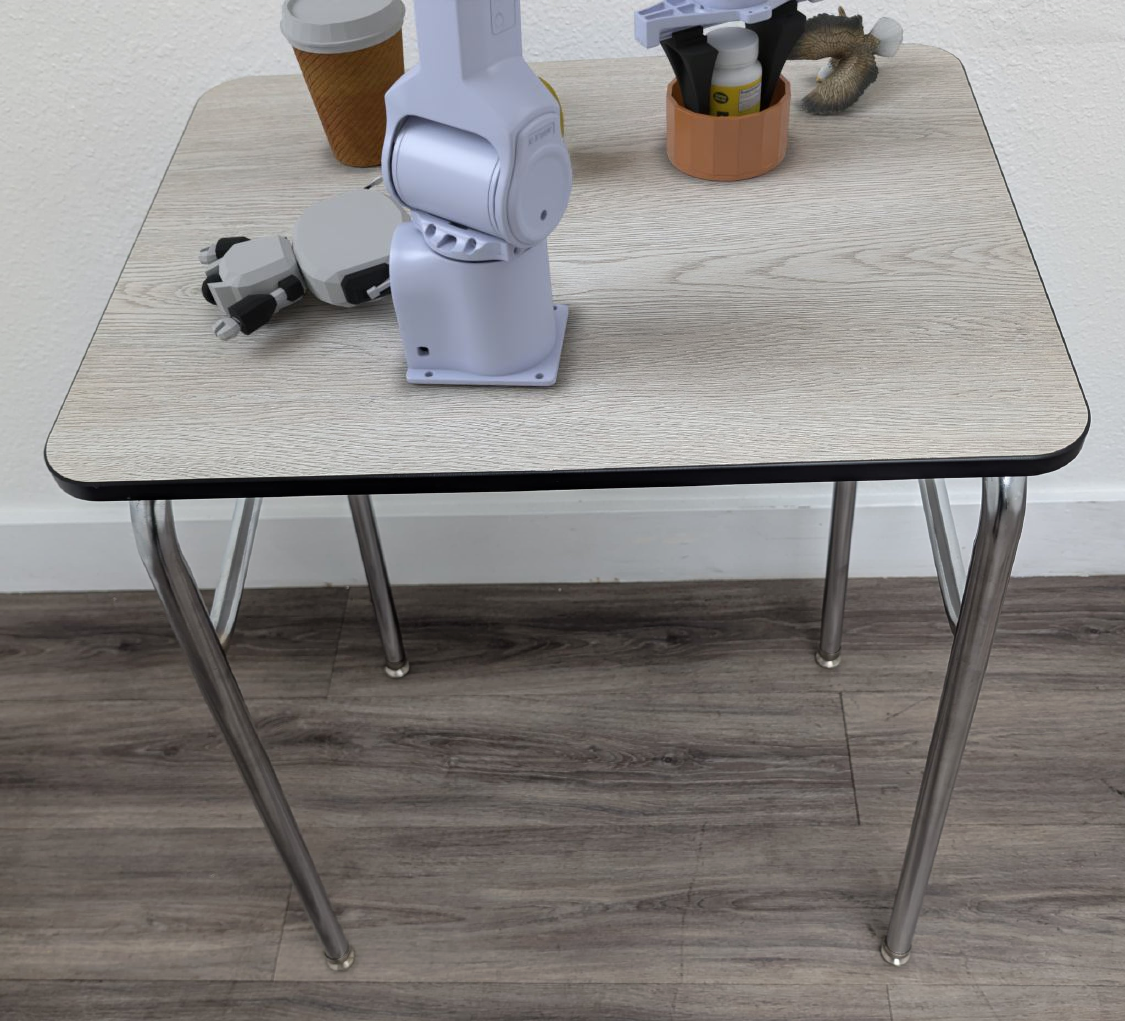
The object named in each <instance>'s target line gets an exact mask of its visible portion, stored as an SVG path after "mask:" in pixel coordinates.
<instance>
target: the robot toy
mask: <svg viewBox="0 0 1125 1021" xmlns="http://www.w3.org/2000/svg"><path fill="white" fill-rule="evenodd" d="M382 183H384V180H383V175H378V176H377V177H375V178H373V179H372V181H370V182H369V183H367V184H365V185H364V186H362V187H360V188H356V189H353V190H350V191H347V192H344V193H342V194H341V193H340V194H338V195H334V196H330V197H328V198H325V199H321V200H317V201H315V202H312V203H311V204H310V205H309V206H308V207H306V209H305V210H304V211H303V212H302V213H301V214H300V215H299V217H298V219H297V221H296V222H295V223H294V226H293V228H292V234H291V241H290V239H288V237H287V236H281V235H279V234H275V235H274V234H273V235H269V236H262V237H258V238H253V239H251V238H248V237H246V236H244V235H242V236H240V235H239V236H227V237H220V238H219V239H218V240H217V241H216V243H214V242H212V243H207V244H204V245H203V246H202V247H201V248H200V250H199V252H198V253H197V259H198V261H199V262H200V263H201V264H202V265H207V267H206V269H205V271H204V273H205V276H206V278H205V279H204V280H203V281H202V285H201V288H200V289H201V290H200V291H201V293H202V297H203V298H204V300H205V301H206V302H207V303H209V304H210V305H212V306H217V307H218V310H219V312H221V313H222V314H223V315H225V316H229V317H222V318H219V319H218V320H217V321H215V323H213V324H212V326H211V331H212V333H213V335H214V336H215V337H218V339H219V340H220V341H225V342H227V341H229V340H232V339H235V338H237V336H238V334H239V333H240V332H241V333H242V334H244V335H246V336H249V335H251V334H253V333H254V332H256V331H258V330H259V329H261V328H262V327H263V326H265V325H266V324H268V323H270V321H271V319H272V317H273V316H274V315H275V314H277V313H278V312H280V310H281V309H283V308H286V307H288V306H290V305H292V304H295V303H297V302H298V301H300V300H302V299H303V296H305V295H306V291H307V288H308V289H309V291H310V292H311V293H312V295H314V296H315V297H316V298H317V299H319V301H322V302H325V303H327V304H330V305H333V306H339V307H345V308H353V307H357V306H359V305H362V304H366V303H373V302H378V301H380V300H383V299H384V298H386V297H388V296H390V295H392V293H391V286H390V271H389V259H390V248H391V242H392V238H393V234H394V231H395V229H396V227H397V226H398V225H399V224H400V223H403V222H408V221H412V216H411V214H409V213H408V211H407V210H406V208H405V207H402V206H401V205H399V204H397V203H396V202H395V201H394V200H393V199H392V198H391V196H390V195H389V194H387V193H384V192H381V191H379V190H375V189H372V188H373V187H375V186H379V185H380V184H382ZM306 286H307V287H306Z"/></svg>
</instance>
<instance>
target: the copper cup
mask: <svg viewBox="0 0 1125 1021" xmlns="http://www.w3.org/2000/svg"><path fill="white" fill-rule="evenodd" d="M791 87H792V86H791V82H790V81H789V80H788V78H786V76H784V74H782V73H781V74H780V76H779V79H778V82H777V85H776V87H775V90H774V93H773V96H772V100H771V103H770V106H769V108H767V109H765V110H763V111H761V112H757V113H753V114H748V115H743V116H730V117H715V116H709V115H704V114H699V113H694V112H692V111H690V110H688V109H686V108H685V106H684V102H683V98H682V94H681V91H680V87H679V84H678V81H677V79H676V76H675V77H674V78H673V79H671V81H670V82H669V83H668V84H667V86H666V96H665V99H666V100H665V109H666V111H665V112H666V113H665V114H666V115H665V116H666V127H665V128H666V154H667V157H668V160H669V162H670V164H672V165H673V166H674V167H675V168H676V169H677V170H678V171H680V172H682V173H684V174H686V175H688V176H691V177H693V178H697V179H701V180H707V181H713V182H714V181H715V182H733V181H742V180H748V179H752V178H755V177H758V176H762V175H765V174H766V173H769V172H770V171H772V170H774V169H776V167H778V166H779V164H781V162H782V161H783V160H784V158H785V156H786V152H787V148H788V135H789V122H790V110H791V99H792V98H791V97H792V89H791Z"/></svg>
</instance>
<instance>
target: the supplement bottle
mask: <svg viewBox="0 0 1125 1021" xmlns="http://www.w3.org/2000/svg"><path fill="white" fill-rule="evenodd" d="M705 35H707V43H709V44H710V45H711V46H713V47H714V48H715V49H717V50H718V51H719V53H718V56H717V59H716V62H715V66H714V70H713V75H712V81H711V88H710V116H715V117H730V116H743V115H748V114H753V113H757V112H760V95H761V79H762V67H761V64H760V62H759V61H758V59H757V57H758V41H759V39H758V35H757V34H756V33H755V32H754V31H752V30H749V29H747V28H745V27H741V26H723V27H718V28H715V29H712V30H710V31H708V32H707V33H706V34H705Z"/></svg>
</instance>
